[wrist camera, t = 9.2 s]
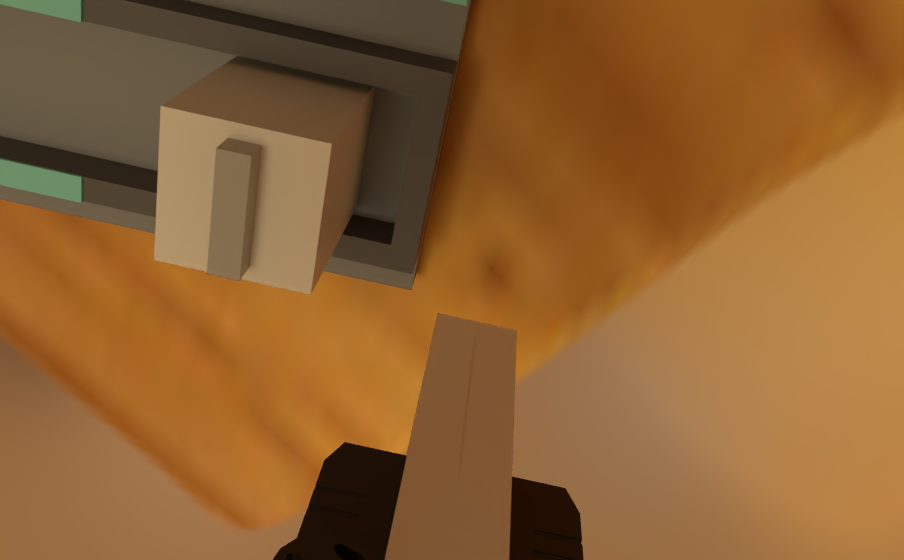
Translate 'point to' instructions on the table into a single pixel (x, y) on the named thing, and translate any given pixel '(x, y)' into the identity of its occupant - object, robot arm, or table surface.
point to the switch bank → (194, 57)
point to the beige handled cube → (260, 172)
